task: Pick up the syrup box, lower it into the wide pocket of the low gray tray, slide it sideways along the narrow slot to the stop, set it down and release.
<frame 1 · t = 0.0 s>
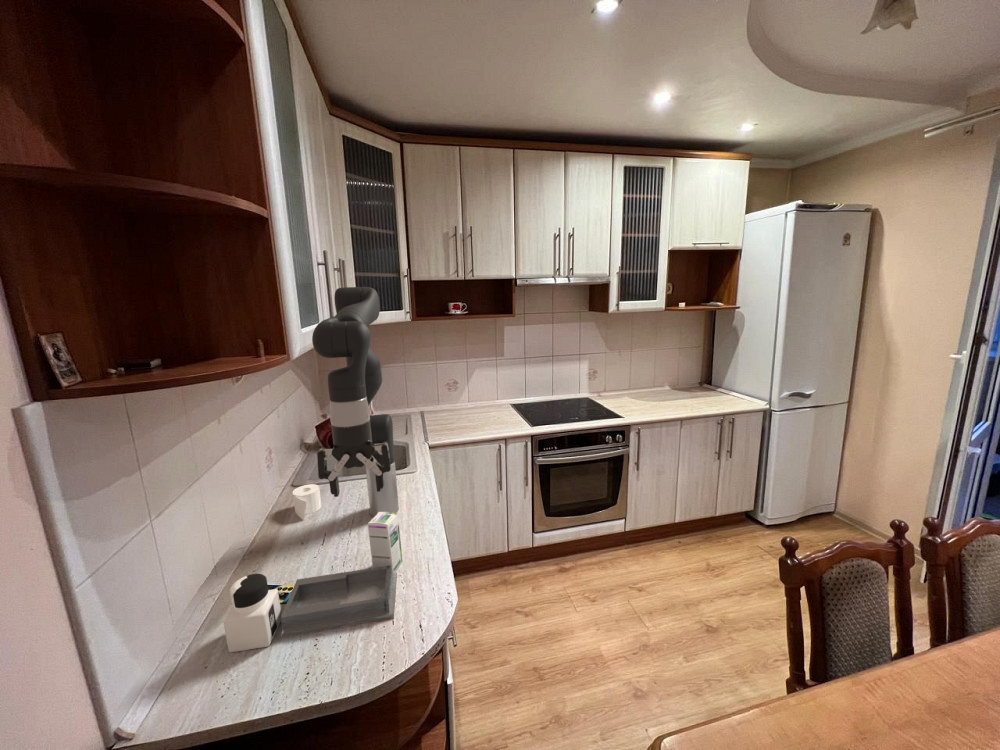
hand: (358, 492, 85), 29 cm above the counter, fingers open, 8 cm apart
syrup box: (387, 568, 106), on the counter
toilet paper: (305, 512, 136), on the counter
low gray tray: (344, 603, 94), on the counter
container: (257, 635, 86), on the counter
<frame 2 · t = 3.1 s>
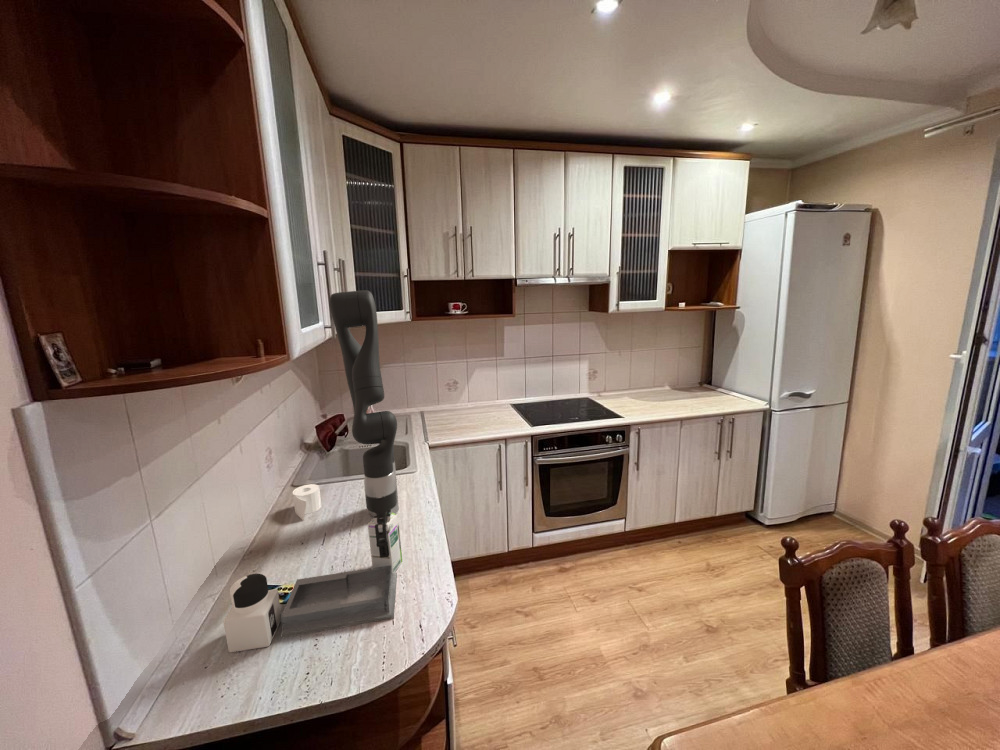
hand: (385, 547, 105), 6 cm above the counter, fingers closed on syrup box, 7 cm apart
syrup box: (387, 568, 106), on the counter, touching gripper
everything else where it was.
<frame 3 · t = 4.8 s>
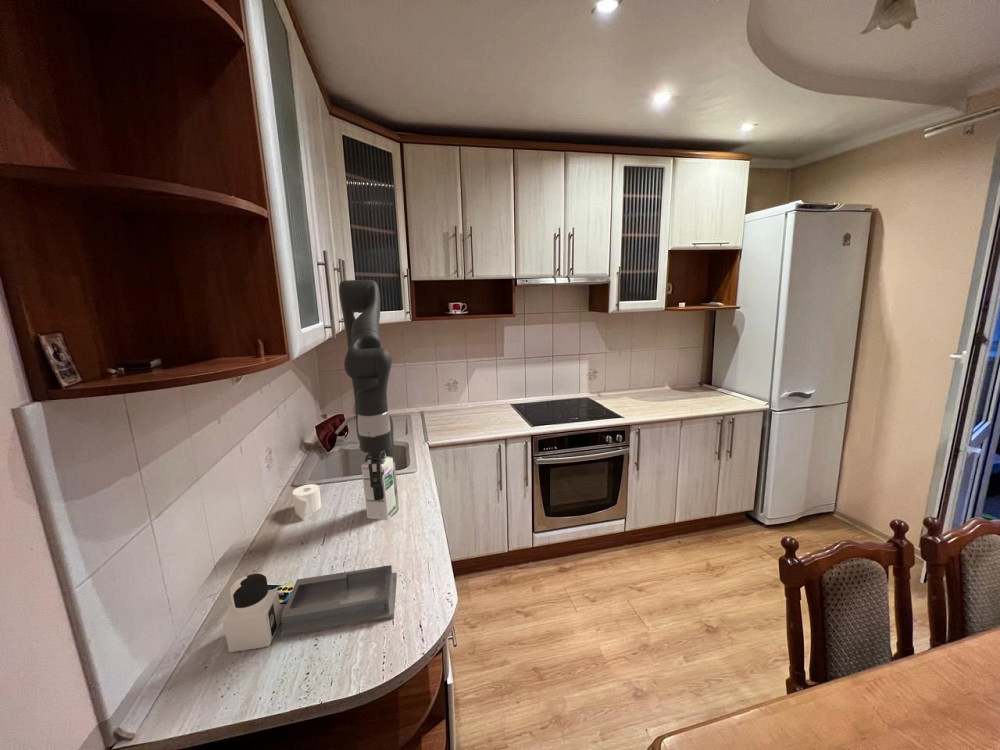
hand: (380, 492, 101), 22 cm above the counter, fingers closed on syrup box, 7 cm apart
syrup box: (382, 514, 103), point 16 cm above the counter, touching gripper
everything else where it was.
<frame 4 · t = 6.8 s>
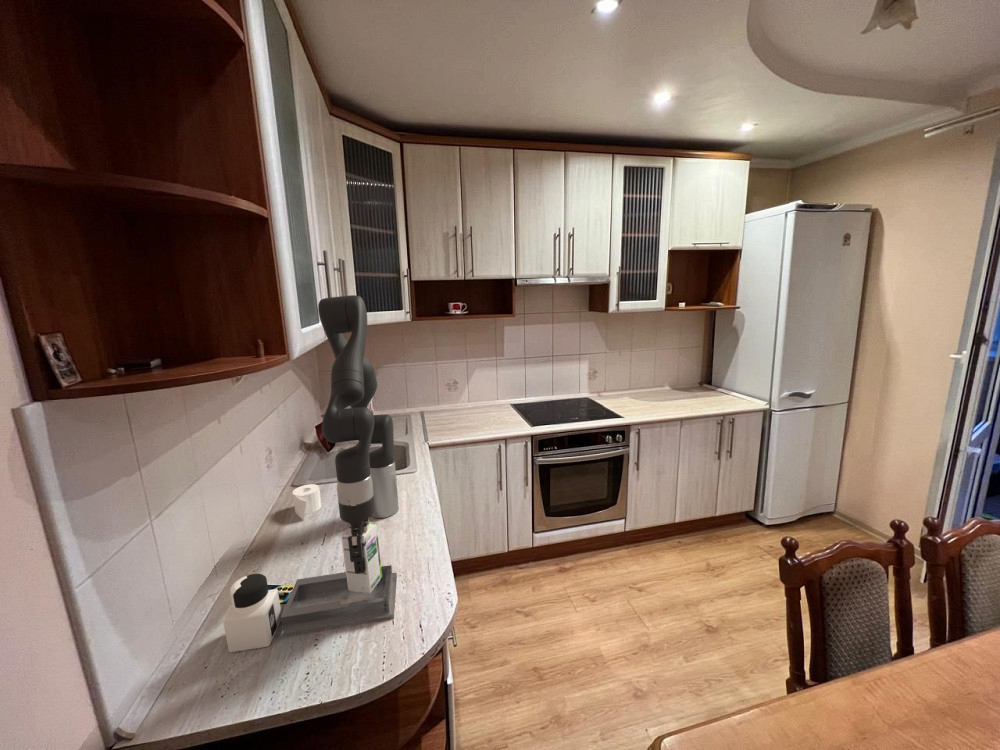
hand: (362, 561, 93), 10 cm above the counter, fingers closed on syrup box, 7 cm apart
syrup box: (365, 584, 94), point 4 cm above the counter, touching gripper
everything else where it was.
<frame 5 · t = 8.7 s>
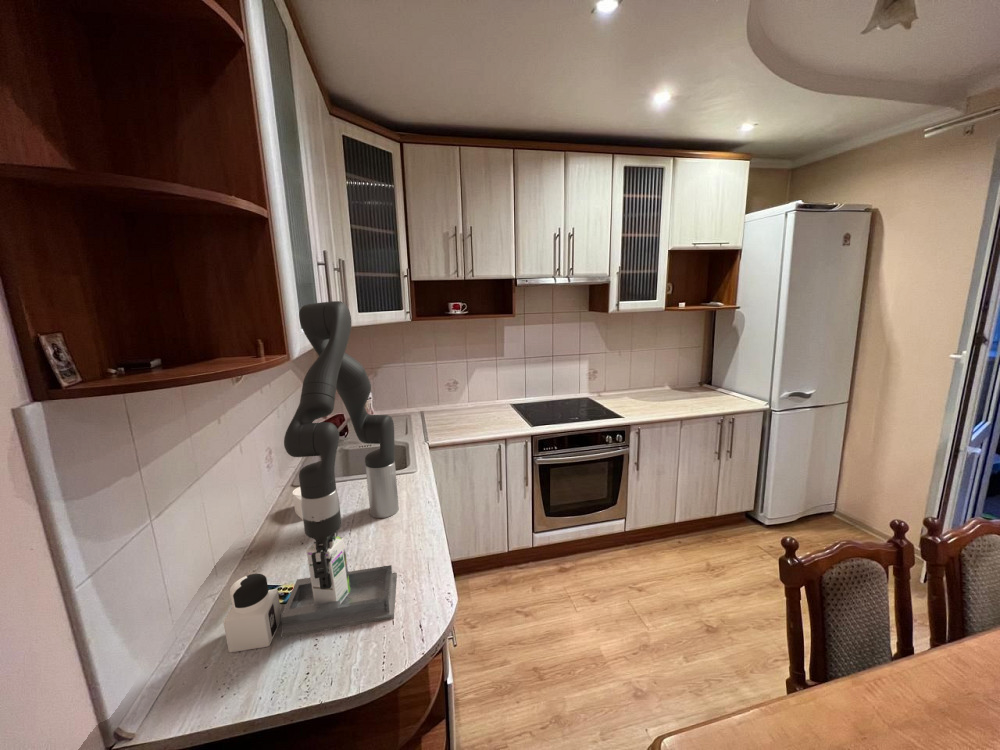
hand: (329, 576, 92), 8 cm above the counter, fingers closed on syrup box, 7 cm apart
syrup box: (332, 599, 93), point 2 cm above the counter, touching gripper
everything else where it was.
when the fingers open (7 cm above the counter, at t = 10.5 s): syrup box stays where it is, resting on low gray tray.
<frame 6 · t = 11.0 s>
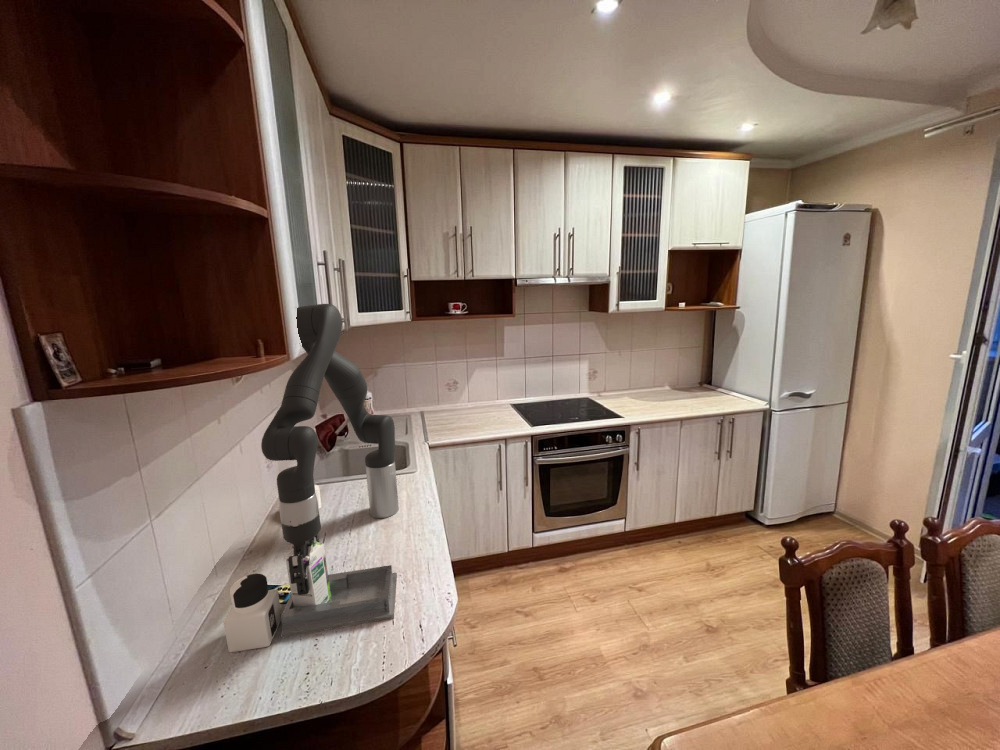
hand: (308, 580, 91), 8 cm above the counter, fingers open, 8 cm apart
syrup box: (312, 605, 92), point 1 cm above the counter, touching low gray tray
everything else where it was.
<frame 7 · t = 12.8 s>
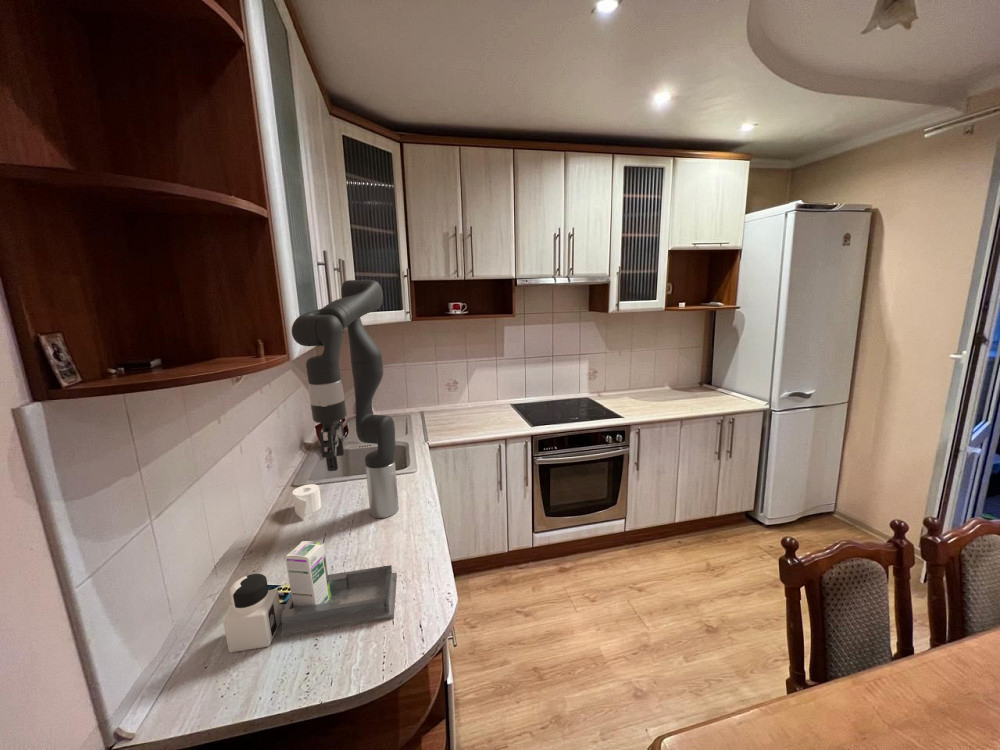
hand: (336, 462, 99), 30 cm above the counter, fingers open, 8 cm apart
nothing on the counter moved.
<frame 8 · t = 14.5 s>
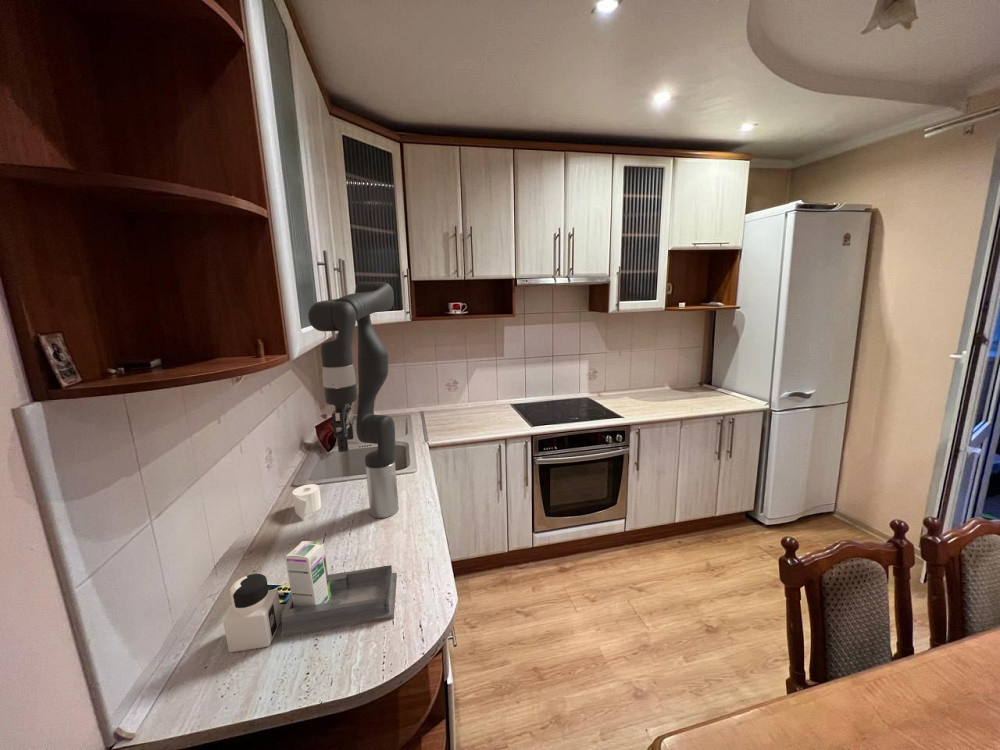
hand: (346, 445, 103), 33 cm above the counter, fingers open, 8 cm apart
nothing on the counter moved.
at the end: syrup box 0.4 cm from the target spot on the low gray tray, point 0.8 cm above the low gray tray's base; syrup box tilted 0°; the gripper is holding nothing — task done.
